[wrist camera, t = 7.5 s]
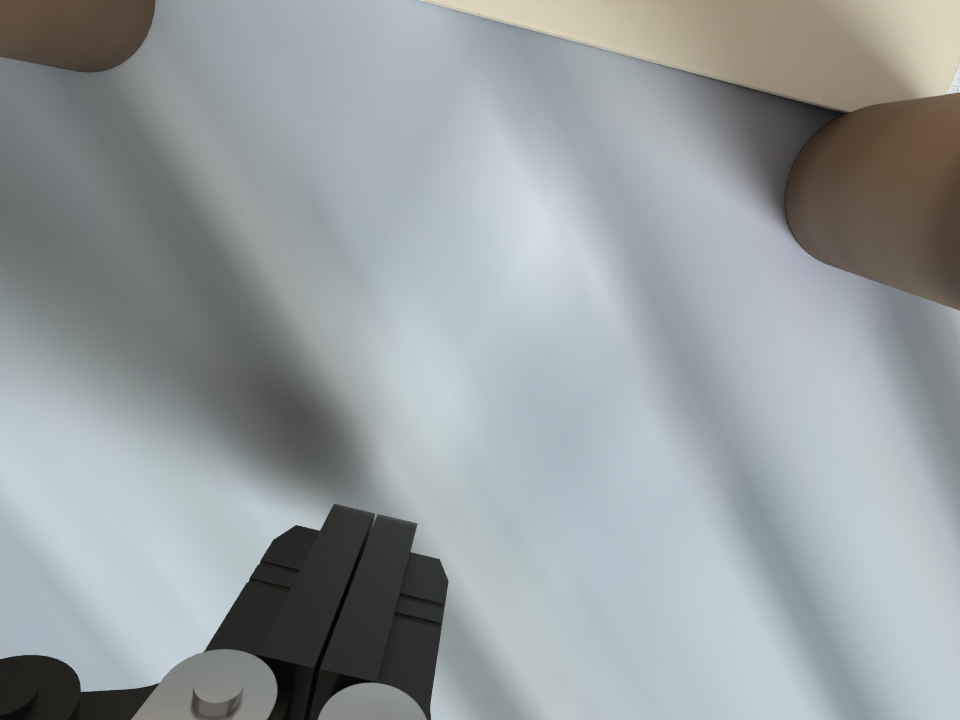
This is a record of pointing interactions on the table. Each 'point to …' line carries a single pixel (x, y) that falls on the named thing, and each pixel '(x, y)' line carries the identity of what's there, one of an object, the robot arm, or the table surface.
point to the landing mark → (765, 41)
